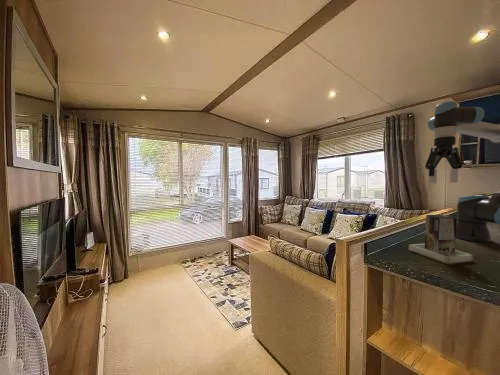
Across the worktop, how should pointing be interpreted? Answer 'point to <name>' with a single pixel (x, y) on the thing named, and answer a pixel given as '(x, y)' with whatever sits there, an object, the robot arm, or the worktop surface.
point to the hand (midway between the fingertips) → (443, 183)
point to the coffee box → (440, 234)
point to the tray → (457, 258)
